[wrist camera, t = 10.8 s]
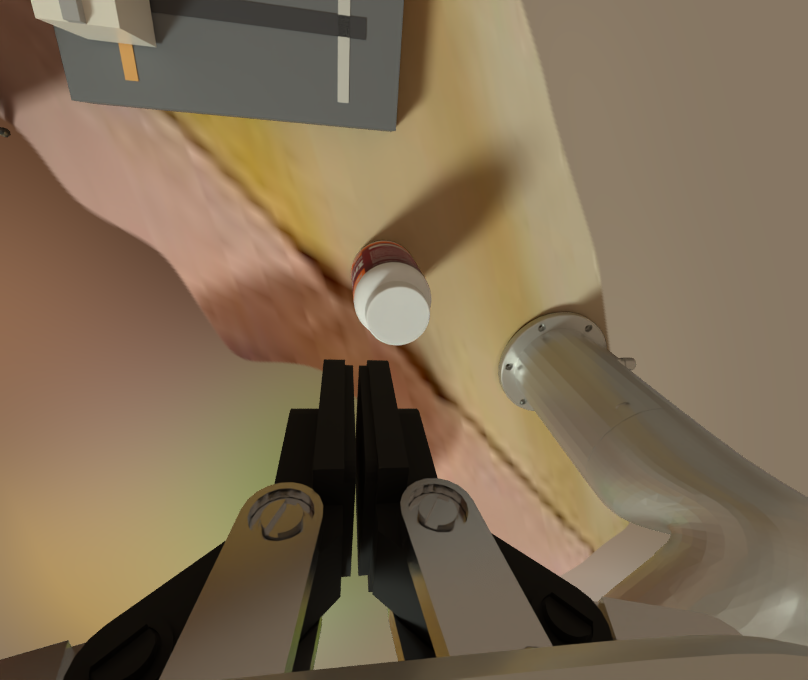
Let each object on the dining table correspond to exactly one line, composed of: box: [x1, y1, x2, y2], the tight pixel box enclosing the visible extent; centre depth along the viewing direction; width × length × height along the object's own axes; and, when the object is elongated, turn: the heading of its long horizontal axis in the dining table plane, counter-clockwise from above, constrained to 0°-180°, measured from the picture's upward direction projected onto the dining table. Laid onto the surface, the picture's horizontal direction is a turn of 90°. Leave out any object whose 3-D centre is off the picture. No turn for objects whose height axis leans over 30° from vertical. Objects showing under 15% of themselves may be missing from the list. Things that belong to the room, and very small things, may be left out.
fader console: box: [53, 0, 404, 132], centre depth 27 cm, size 22×12×3 cm, turn 85°
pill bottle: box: [351, 241, 431, 345], centre depth 34 cm, size 6×6×11 cm
